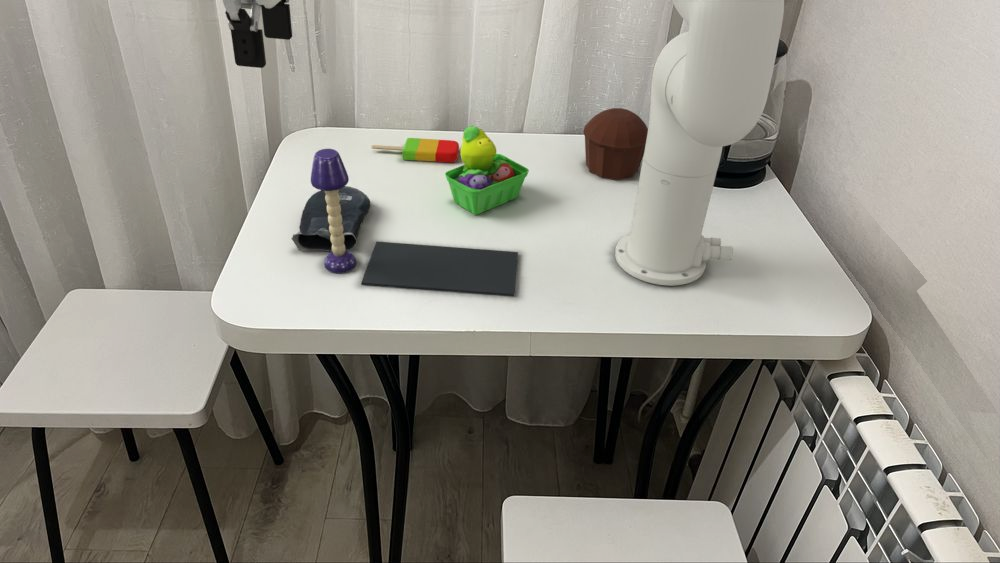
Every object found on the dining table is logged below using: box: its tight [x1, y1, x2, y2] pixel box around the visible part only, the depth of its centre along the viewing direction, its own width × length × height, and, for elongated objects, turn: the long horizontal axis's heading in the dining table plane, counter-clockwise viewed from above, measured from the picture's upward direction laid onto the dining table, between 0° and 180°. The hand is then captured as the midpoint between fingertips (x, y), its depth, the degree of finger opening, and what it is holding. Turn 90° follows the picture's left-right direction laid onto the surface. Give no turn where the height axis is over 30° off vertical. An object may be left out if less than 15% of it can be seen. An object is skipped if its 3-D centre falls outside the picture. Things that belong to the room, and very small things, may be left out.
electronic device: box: [291, 185, 371, 252], centre depth 108 cm, size 9×6×15 cm
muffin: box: [582, 107, 648, 181], centre depth 125 cm, size 12×11×10 cm
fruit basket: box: [444, 125, 530, 216], centre depth 114 cm, size 11×9×11 cm
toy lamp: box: [310, 148, 357, 274], centre depth 95 cm, size 5×5×17 cm
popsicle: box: [370, 137, 460, 163], centre depth 128 cm, size 6×15×2 cm, turn 88°
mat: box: [360, 241, 519, 297], centre depth 101 cm, size 20×10×1 cm, turn 87°
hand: (265, 51), depth 85 cm, fingers open, 9 cm apart
